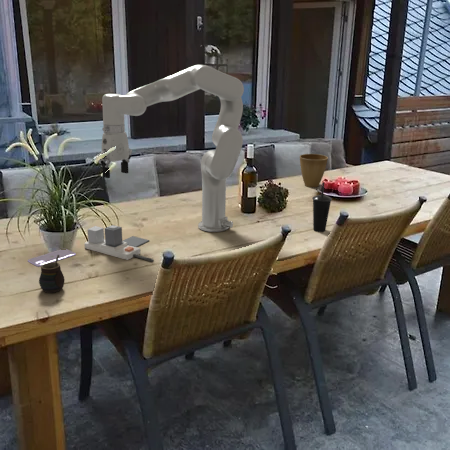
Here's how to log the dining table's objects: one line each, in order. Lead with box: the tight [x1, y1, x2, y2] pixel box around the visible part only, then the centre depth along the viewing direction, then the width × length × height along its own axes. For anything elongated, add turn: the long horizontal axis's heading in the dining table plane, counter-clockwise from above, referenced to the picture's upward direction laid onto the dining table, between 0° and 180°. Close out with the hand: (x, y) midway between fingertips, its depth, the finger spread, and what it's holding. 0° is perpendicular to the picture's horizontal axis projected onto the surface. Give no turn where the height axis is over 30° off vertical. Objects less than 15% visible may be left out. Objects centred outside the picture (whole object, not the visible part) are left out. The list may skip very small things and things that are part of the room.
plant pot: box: [299, 153, 329, 188], centre depth 276 cm, size 15×15×16 cm
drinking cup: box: [312, 182, 332, 233], centre depth 208 cm, size 8×8×20 cm
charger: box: [104, 224, 123, 247], centre depth 183 cm, size 4×4×7 cm
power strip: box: [84, 225, 155, 263], centre depth 182 cm, size 28×7×7 cm, turn 60°
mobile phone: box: [27, 248, 77, 267], centre depth 178 cm, size 8×1×15 cm
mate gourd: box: [38, 255, 65, 294], centre depth 154 cm, size 7×8×10 cm
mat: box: [122, 235, 150, 248], centre depth 194 cm, size 8×8×1 cm
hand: (115, 175), depth 193 cm, fingers open, 9 cm apart
